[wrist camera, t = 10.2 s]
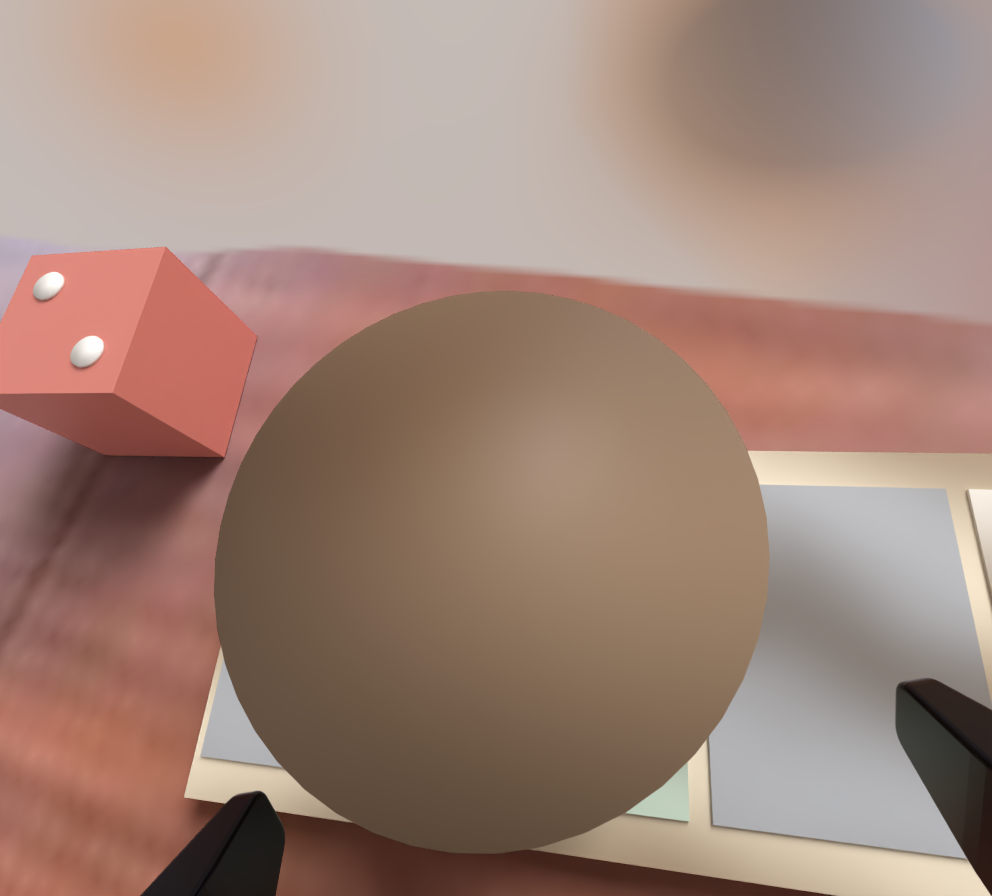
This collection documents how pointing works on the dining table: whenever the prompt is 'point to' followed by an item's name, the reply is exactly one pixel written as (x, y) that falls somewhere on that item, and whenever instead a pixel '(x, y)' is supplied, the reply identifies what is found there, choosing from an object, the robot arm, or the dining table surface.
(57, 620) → the dining table surface
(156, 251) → the die
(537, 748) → the pawn
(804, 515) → the board
